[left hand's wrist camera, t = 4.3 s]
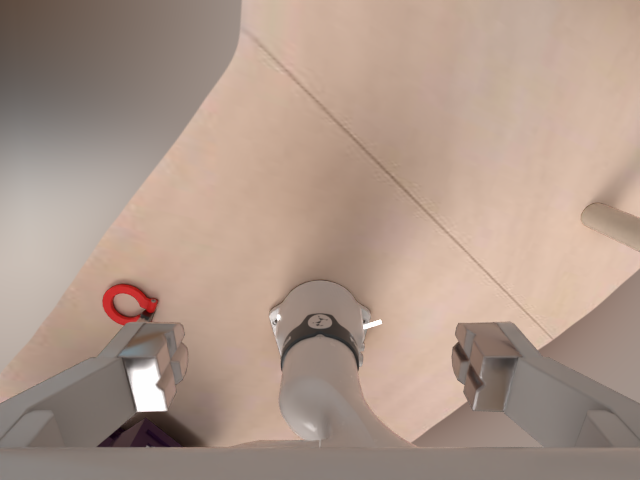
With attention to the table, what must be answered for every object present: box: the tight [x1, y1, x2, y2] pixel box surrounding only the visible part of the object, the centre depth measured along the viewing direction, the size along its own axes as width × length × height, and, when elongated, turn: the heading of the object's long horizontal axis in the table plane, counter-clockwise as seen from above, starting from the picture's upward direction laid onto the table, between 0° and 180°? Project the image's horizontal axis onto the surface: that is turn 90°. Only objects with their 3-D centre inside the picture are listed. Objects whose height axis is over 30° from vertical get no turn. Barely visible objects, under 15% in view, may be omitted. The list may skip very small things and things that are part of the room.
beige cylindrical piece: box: [581, 203, 640, 252], centre depth 52 cm, size 4×4×16 cm
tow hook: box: [103, 284, 158, 325], centre depth 60 cm, size 8×13×9 cm
